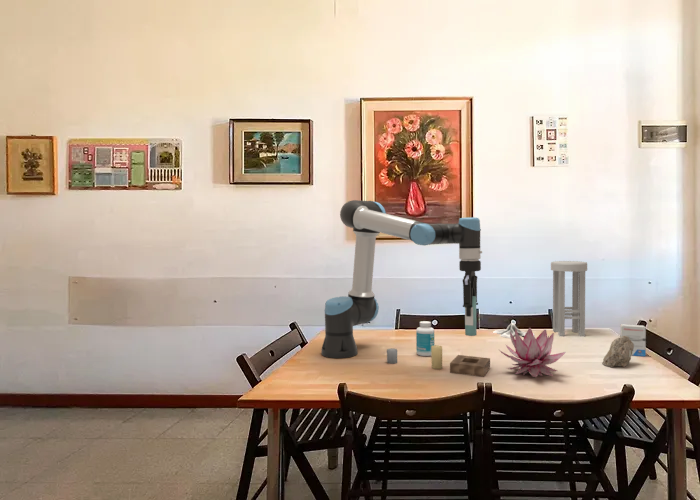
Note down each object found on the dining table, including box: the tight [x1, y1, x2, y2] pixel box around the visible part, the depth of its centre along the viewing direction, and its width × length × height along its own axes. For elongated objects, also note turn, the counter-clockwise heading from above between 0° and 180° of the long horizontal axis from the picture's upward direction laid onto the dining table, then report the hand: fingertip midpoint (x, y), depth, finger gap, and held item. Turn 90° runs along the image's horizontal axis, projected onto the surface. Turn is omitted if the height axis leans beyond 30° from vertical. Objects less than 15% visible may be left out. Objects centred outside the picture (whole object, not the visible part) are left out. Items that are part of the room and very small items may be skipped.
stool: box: [550, 260, 588, 337], centre depth 228 cm, size 16×16×35 cm
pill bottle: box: [415, 320, 435, 357], centre depth 195 cm, size 8×7×14 cm
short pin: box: [386, 348, 398, 365], centre depth 184 cm, size 4×4×5 cm
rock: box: [601, 336, 634, 368], centre depth 176 cm, size 14×10×8 cm
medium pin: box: [430, 344, 443, 370], centre depth 176 cm, size 4×4×8 cm
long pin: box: [464, 296, 477, 337], centre depth 172 cm, size 4×4×14 cm
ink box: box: [619, 323, 647, 357], centre depth 190 cm, size 8×5×12 cm, turn 65°
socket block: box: [449, 354, 491, 378], centre depth 173 cm, size 12×12×4 cm
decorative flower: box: [498, 327, 566, 378], centre depth 167 cm, size 21×21×15 cm
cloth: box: [492, 322, 536, 339], centre depth 231 cm, size 22×19×6 cm
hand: (470, 323), depth 172 cm, fingers closed on long pin, 4 cm apart
